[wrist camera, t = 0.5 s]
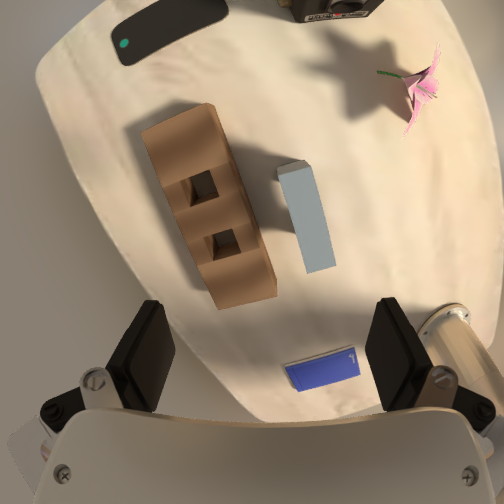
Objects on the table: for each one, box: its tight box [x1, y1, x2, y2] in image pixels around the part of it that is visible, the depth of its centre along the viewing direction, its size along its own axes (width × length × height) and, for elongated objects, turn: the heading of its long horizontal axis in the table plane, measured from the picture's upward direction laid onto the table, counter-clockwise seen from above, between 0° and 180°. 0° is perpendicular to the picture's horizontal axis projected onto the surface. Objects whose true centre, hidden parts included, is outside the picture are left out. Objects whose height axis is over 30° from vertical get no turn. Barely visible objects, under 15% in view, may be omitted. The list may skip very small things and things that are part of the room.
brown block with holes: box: [141, 103, 277, 310], centre depth 32 cm, size 24×8×4 cm, turn 19°
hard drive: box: [285, 345, 361, 392], centre depth 45 cm, size 2×8×12 cm
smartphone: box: [112, 0, 229, 66], centre depth 23 cm, size 8×1×15 cm
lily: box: [377, 43, 441, 139], centre depth 22 cm, size 12×12×10 cm
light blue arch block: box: [277, 160, 336, 274], centre depth 29 cm, size 10×3×9 cm, turn 19°
